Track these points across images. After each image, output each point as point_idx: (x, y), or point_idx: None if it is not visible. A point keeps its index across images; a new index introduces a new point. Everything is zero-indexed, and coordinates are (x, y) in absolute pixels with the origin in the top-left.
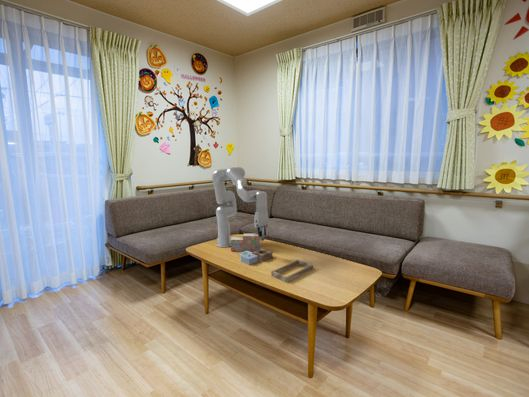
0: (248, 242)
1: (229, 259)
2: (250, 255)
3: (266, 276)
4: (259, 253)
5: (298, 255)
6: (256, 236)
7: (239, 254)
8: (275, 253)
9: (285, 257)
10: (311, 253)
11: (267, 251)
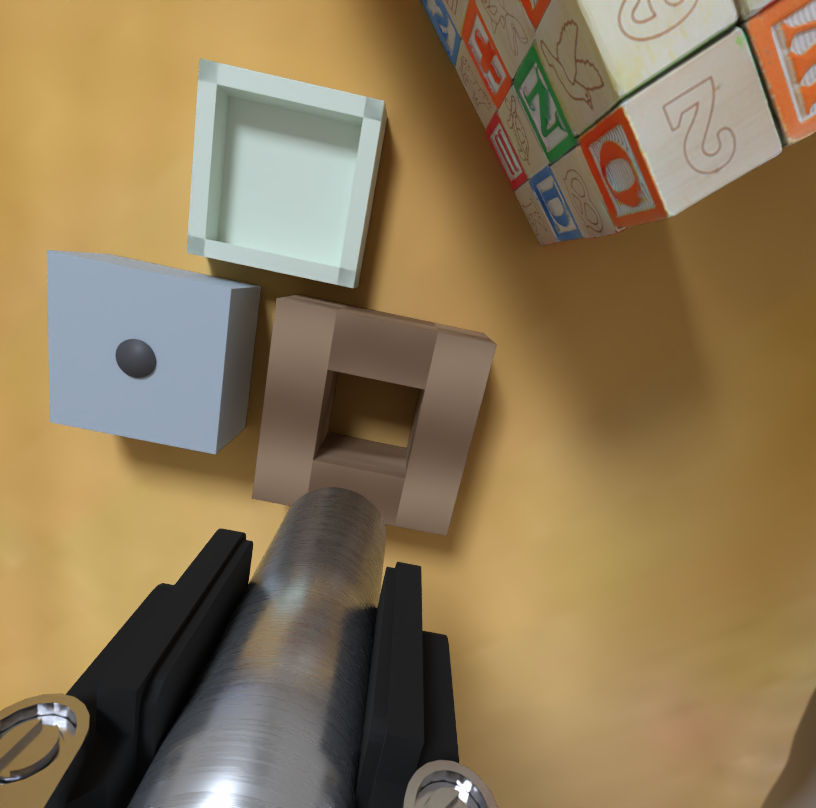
0: (489, 5)
1: (44, 43)
2: (153, 365)
3: (39, 664)
4: (299, 425)
5: (631, 685)
6: (630, 147)
7: (201, 96)
8: (576, 467)
9: (515, 609)
10: (739, 755)
11: (427, 477)
